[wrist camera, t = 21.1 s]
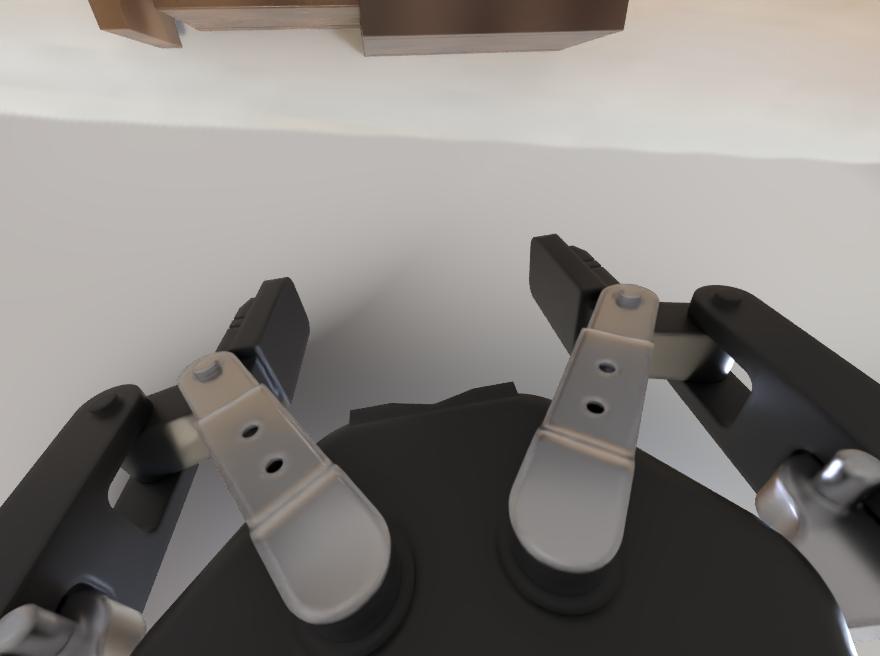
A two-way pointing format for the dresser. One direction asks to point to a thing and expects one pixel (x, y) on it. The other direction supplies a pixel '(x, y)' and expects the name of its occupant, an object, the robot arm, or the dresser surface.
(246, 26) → the drawer
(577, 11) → the cabinet
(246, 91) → the dresser surface
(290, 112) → the dresser surface
